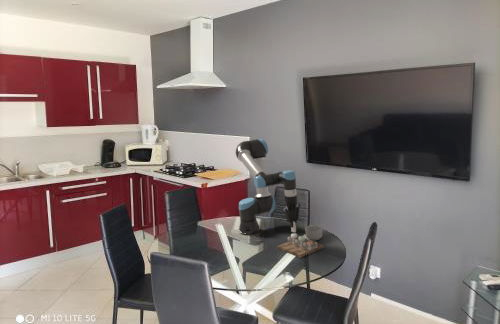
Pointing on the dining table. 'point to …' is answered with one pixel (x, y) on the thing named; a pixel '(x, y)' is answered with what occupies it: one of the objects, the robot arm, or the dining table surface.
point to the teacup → (313, 232)
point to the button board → (299, 247)
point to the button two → (301, 238)
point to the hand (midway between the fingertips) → (293, 231)
